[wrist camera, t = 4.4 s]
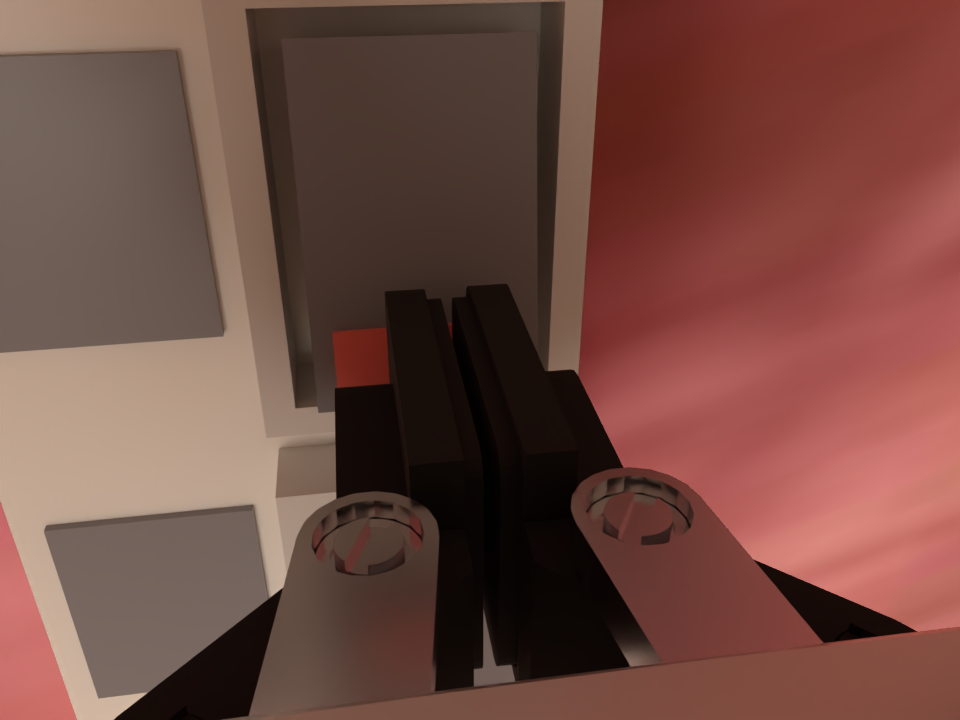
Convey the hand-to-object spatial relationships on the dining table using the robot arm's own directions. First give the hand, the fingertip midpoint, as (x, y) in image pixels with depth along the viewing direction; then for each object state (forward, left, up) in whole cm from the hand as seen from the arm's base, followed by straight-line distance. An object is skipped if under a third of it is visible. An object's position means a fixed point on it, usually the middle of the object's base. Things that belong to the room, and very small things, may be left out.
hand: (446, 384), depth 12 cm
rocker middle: (-2, 0, -1) cm, 2 cm away
